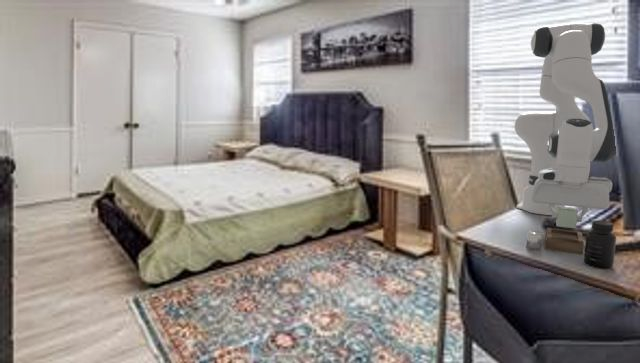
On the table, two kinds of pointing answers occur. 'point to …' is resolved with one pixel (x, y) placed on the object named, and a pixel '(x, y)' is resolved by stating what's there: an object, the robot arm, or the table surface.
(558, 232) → the walnut base
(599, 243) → the supplement bottle
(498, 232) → the table surface
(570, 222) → the sage cube
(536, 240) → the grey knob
